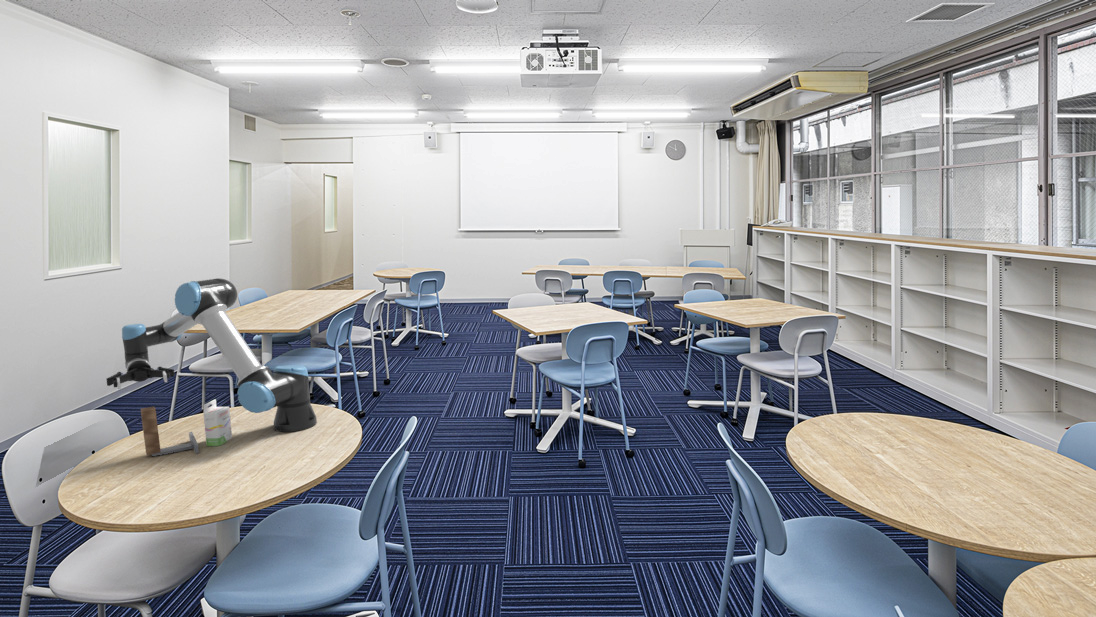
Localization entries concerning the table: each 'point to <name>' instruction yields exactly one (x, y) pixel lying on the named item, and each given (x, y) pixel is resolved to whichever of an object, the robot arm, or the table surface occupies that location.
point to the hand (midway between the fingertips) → (142, 382)
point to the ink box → (217, 424)
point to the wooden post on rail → (153, 437)
